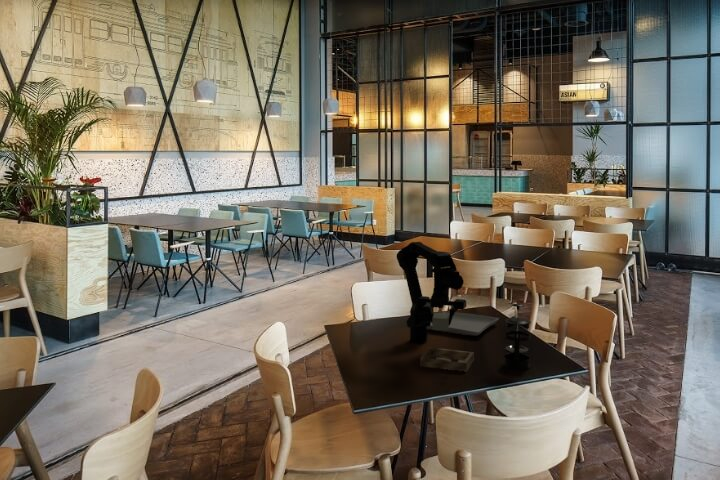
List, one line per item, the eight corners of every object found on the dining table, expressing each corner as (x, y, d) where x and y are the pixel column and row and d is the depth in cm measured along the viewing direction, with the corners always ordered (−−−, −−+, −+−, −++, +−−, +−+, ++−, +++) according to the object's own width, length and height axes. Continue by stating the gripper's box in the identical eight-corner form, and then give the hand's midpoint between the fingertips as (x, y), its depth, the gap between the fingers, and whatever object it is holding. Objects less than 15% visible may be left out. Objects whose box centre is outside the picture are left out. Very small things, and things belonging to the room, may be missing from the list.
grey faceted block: (432, 329, 228) (432, 318, 227) (434, 323, 236) (434, 312, 236) (448, 330, 227) (448, 318, 226) (449, 324, 235) (449, 313, 235)
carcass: (420, 366, 216) (420, 354, 216) (429, 355, 228) (430, 344, 228) (466, 372, 210) (466, 360, 209) (473, 360, 222) (474, 349, 221)
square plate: (499, 325, 271) (499, 316, 271) (479, 340, 248) (479, 331, 247) (444, 317, 285) (444, 309, 284) (420, 331, 262) (420, 323, 261)
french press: (529, 371, 210) (532, 308, 207) (502, 369, 212) (504, 307, 209) (529, 361, 221) (531, 300, 218) (503, 359, 223) (505, 299, 220)
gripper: (412, 287, 226) (412, 327, 228) (460, 291, 219) (460, 332, 221) (420, 281, 236) (420, 320, 238) (467, 285, 229) (466, 324, 231)
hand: (441, 324), depth 231 cm, fingers closed on grey faceted block, 6 cm apart
